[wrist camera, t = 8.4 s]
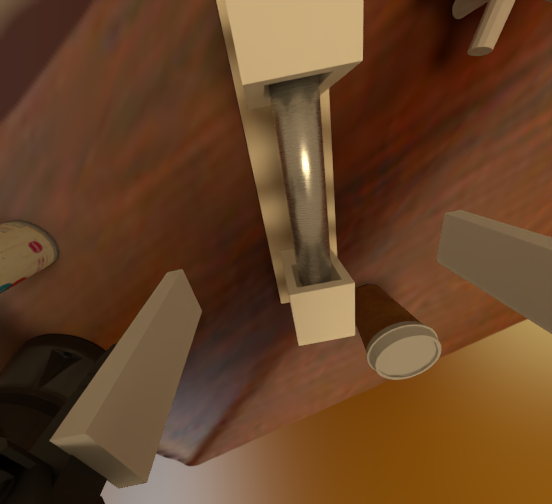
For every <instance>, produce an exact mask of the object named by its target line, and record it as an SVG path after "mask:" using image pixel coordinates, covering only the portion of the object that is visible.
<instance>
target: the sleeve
mask: <svg viewBox="0 0 552 504" xmlns="http://www.w3.org/2000/svg"><path fill="white" fill-rule="evenodd" d="M280 252H281V258H282V263H283V268H284V273H285V279H286V284H287V289H288V295H289V299H290V304H291V309H292V314H293V319H294V324H295V329H296V334H297V339H298V344H299V346H301V345H306V344H312V343H317V342H322V341H328V340H333V339H339V338H344V337H349V336H355V282H354V281H353V280H352V278H351V277H350V275H349V274H348V272H347V271H346V270H345V268H344V267H343V265H342V264H341V262H340V261H339V260H338V258H337V257H336V255H335V254H334V252H333V251H332V250H331V248H330V258H331V273H332V280H331V281H330V282H325V283H320V284H314V285H309V286H302V285H301V284H300V283H299V279H298V273H297V266H296V260H295V253H294V249H289V250H284V251H280Z"/></svg>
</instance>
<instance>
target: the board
mask: <svg viewBox="0 0 552 504" xmlns="http://www.w3.org/2000/svg"><path fill="white" fill-rule="evenodd" d="M216 2H217V6H218V11H219V16H220V20H221V25H222V30H223V34H224V39H225V44H226V48H227V53H228V58H229V62H230V67H231V72H232V76H233V81H234V86H235V90H236V95H237V100H238V104H239V109H240V114H241V118H242V123H243V128H244V132H245V137H246V142H247V146H248V151H249V156H250V160H251V165H252V169H253V174H254V179H255V183H256V188H257V193H258V197H259V202H260V207H261V211H262V216H263V221H264V225H265V230H266V235H267V239H268V244H269V249H270V253H271V258H272V263H273V267H274V272H275V277H276V281H277V286H278V291H279V295H280V300H281V304H283V303H288V302H290V299H289V295H288V289H287V284H286V279H285V273H284V268H283V263H282V258H281V252H280V251H284V250H289V249H294V247H293V240H292V234H291V227H290V221H289V214H288V208H287V202H286V195H285V189H284V182H283V176H282V169H281V163H280V156H279V150H278V143H277V137H276V130H275V124H274V118H273V111H272V105H270V106H265V107H260V108H255V109H250V110H249V108H248V104H247V101H246V97H245V93H244V90H243V86H242V81H241V76H240V71H239V66H238V61H237V56H236V51H235V46H234V41H233V36H232V31H231V26H230V21H229V16H228V11H227V6H226V1H225V0H216ZM320 105H321V120H322V135H323V151H324V166H325V181H326V196H327V212H328V227H329V242H330V248H331V250H332V251H333V252H334V254H335V255H336V257H337V245H336V224H335V204H334V183H333V163H332V142H331V122H330V101H329V88H328V89H327V90H326V91H325V92H324V93H322V94H321V95H320Z"/></svg>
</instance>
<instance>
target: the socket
mask: <svg viewBox="0 0 552 504" xmlns="http://www.w3.org/2000/svg"><path fill="white" fill-rule="evenodd" d="M225 1H226V6H227V11H228V16H229V21H230V26H231V31H232V36H233V41H234V46H235V51H236V56H237V61H238V66H239V71H240V76H241V81H242V86H243V90H244V93H245V97H246V101H247V104H248V108H249V110H250V109H255V108H260V107H265V106H270V105H271V98H270V92H269V85H268V84H273V83H278V82H283V81H287V80H292V79H297V78H302V77H307V76H312V75H317V74H319V89H320V95H321V94H322V93H324V92H325V91H326V90H327V89H328V88H330V87H331V86H332V85H333V84H335V83H336V82H337V81H338V80H339V79H341V78H342V77H343V76H344V75H346V74H347V73H348V72H349V71H350V70H352V69H353V68H354V67H355V66H357V65H358V64H359V63H360V62H361V61H363V0H225Z"/></svg>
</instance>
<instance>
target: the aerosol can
mask: <svg viewBox="0 0 552 504" xmlns="http://www.w3.org/2000/svg"><path fill="white" fill-rule="evenodd" d="M58 256H59V249H58V245H57V243H56V242H55V240H54V239H53V238H52V236H51V235H50V234H49V233H48V232H46V231H45V230H43V229H42V228H40V227H39V226H36V225H34V224H32V223H29V222H24V221H10V222H7V223H3V224H0V293H2V292H4V291H5V290H7V289H9V288H11V287H12V286H14V285H16V284H18V283H19V282H21V281H23V280H25V279H26V278H28V277H30V276H32V275H33V274H35V273H37V272H39V271H40V270H42V269H44V268H46V267H47V266H49V265H51V264H53V263H54V262H55V261H56V260H57V259H58Z"/></svg>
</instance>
